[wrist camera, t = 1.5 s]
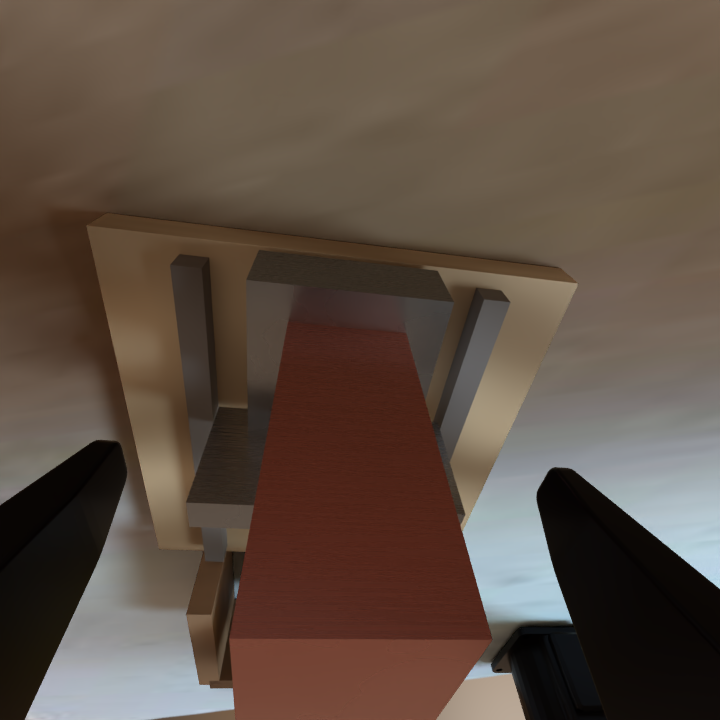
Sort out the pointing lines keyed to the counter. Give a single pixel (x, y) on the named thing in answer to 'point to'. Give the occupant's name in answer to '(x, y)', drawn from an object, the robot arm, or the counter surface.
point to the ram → (342, 499)
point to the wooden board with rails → (229, 349)
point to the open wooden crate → (212, 621)
